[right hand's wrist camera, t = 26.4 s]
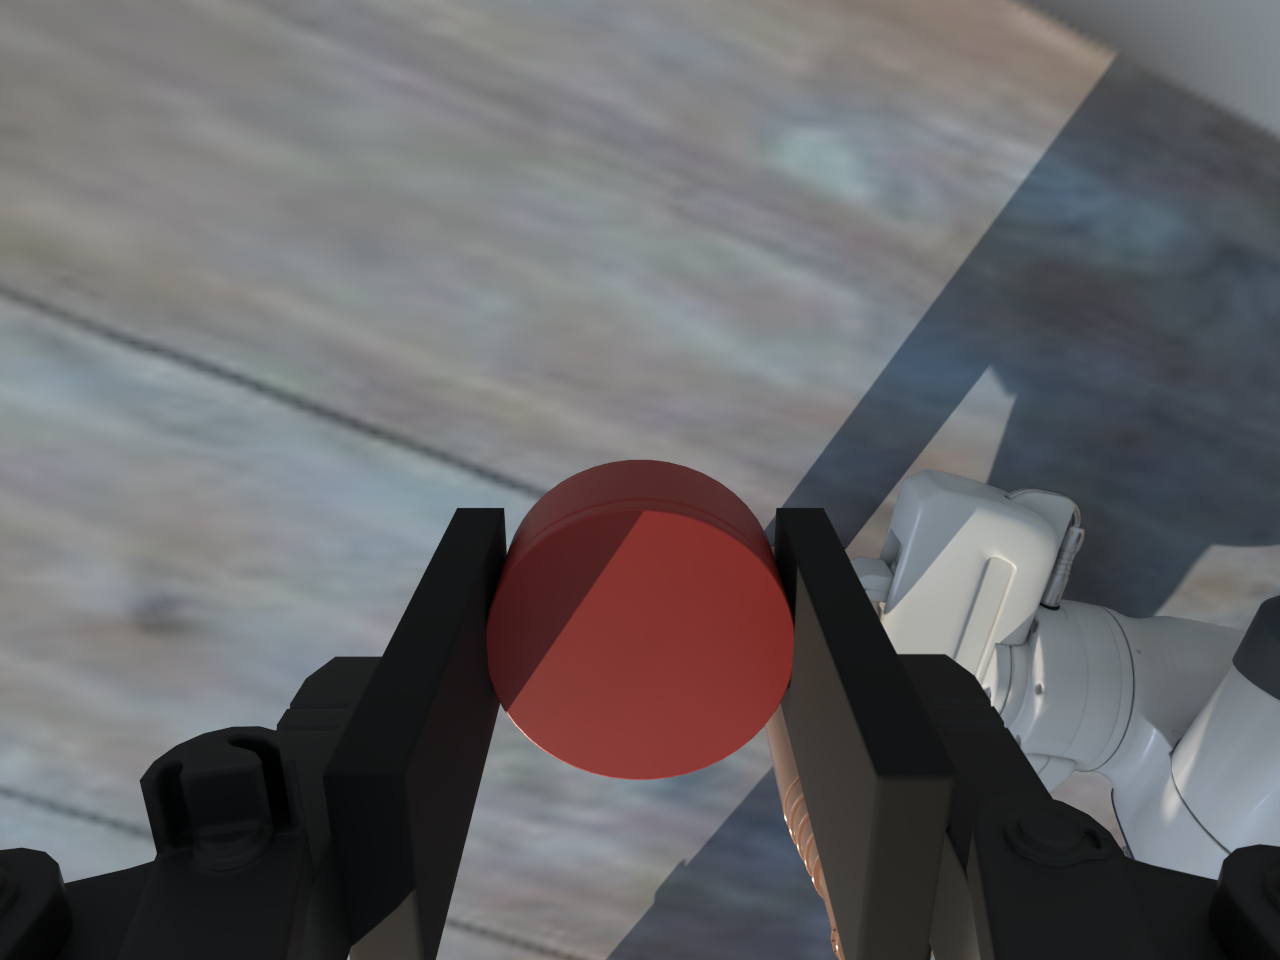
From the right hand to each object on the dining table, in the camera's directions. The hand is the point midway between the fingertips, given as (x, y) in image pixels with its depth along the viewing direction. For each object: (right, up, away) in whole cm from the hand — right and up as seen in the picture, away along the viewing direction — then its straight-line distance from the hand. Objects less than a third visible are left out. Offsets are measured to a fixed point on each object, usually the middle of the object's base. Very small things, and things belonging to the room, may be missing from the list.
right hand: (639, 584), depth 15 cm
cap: (0, -1, -2) cm, 2 cm away
